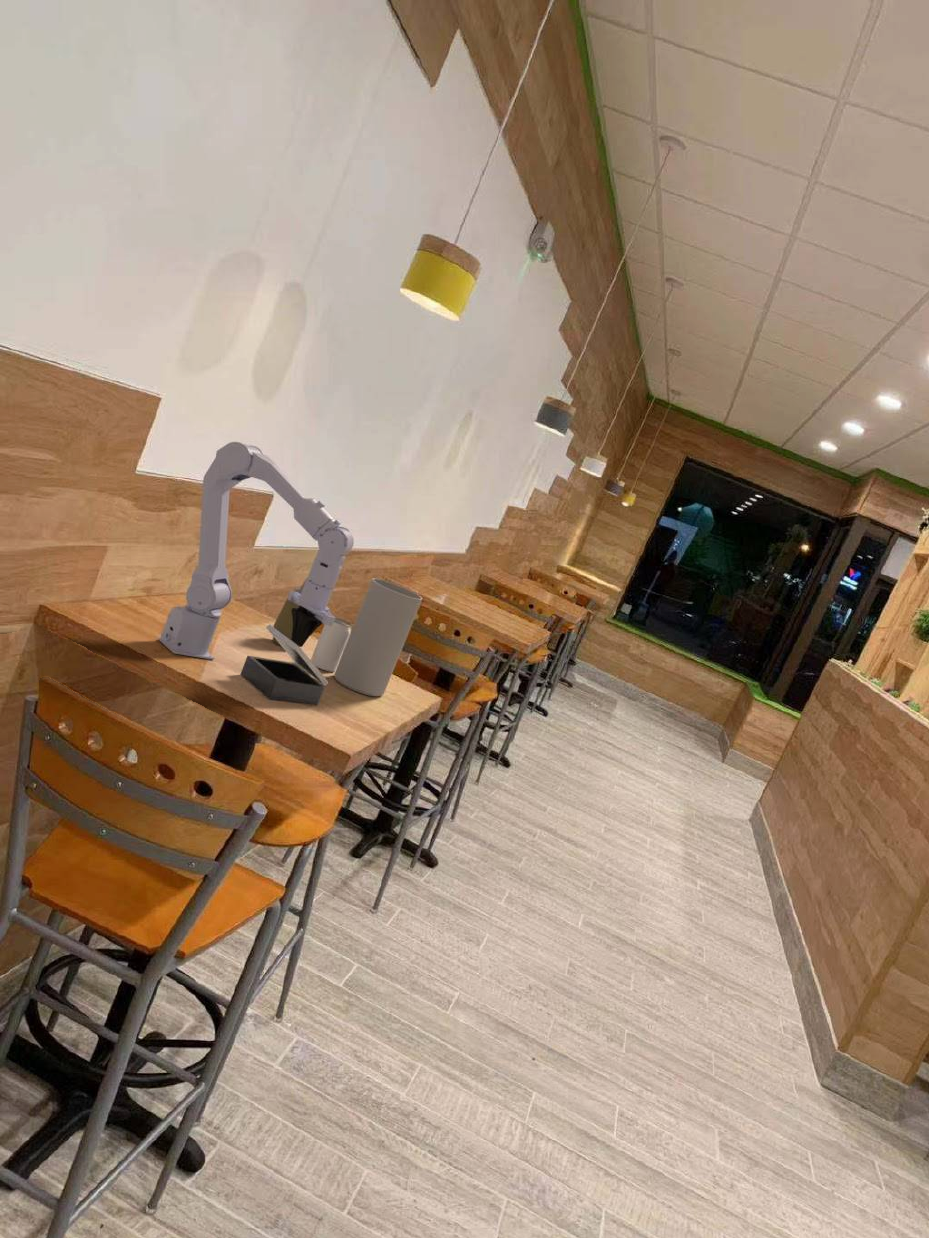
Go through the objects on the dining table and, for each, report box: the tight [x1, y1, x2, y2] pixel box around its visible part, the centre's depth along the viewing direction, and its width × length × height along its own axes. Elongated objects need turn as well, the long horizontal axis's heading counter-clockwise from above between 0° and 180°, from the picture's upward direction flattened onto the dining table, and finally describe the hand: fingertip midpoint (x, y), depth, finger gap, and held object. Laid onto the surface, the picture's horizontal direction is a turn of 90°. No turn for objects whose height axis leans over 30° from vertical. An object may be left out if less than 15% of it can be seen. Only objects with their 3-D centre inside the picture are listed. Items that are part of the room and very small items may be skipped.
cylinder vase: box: [334, 577, 423, 697], centre depth 214 cm, size 12×12×25 cm
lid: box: [266, 624, 329, 687], centre depth 188 cm, size 12×12×1 cm
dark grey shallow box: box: [239, 655, 325, 706], centre depth 188 cm, size 12×12×4 cm
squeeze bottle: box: [272, 577, 307, 647], centre depth 224 cm, size 8×8×18 cm
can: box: [310, 616, 352, 673], centre depth 219 cm, size 6×6×12 cm
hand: (296, 645), depth 187 cm, fingers closed
